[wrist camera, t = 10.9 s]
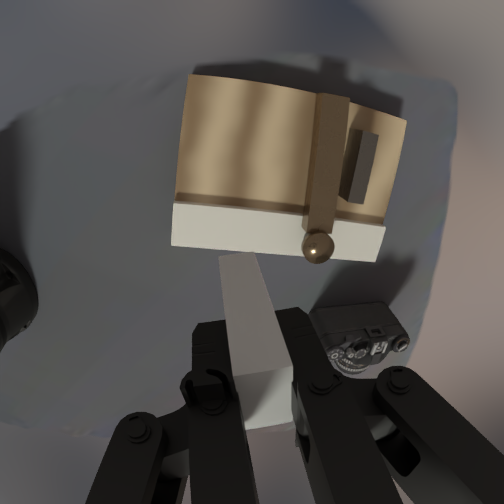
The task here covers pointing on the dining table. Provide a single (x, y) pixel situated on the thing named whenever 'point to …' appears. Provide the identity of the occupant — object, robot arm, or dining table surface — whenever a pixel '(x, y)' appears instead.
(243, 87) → the door slab
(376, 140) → the bar
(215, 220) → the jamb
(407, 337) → the camera
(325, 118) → the swing bar
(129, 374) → the dining table surface
